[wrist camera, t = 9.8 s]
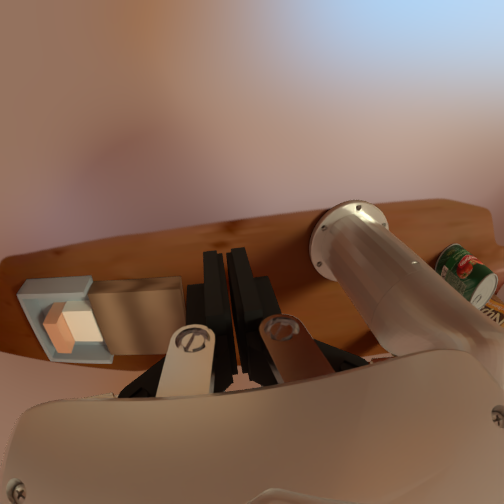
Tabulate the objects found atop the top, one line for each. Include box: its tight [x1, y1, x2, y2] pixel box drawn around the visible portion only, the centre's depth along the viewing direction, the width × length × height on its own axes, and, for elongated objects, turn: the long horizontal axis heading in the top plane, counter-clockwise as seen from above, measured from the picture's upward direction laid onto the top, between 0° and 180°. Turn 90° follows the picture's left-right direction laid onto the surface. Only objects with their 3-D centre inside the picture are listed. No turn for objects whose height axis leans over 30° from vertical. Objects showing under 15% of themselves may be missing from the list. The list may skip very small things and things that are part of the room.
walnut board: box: [87, 276, 186, 355], centre depth 40 cm, size 13×12×3 cm
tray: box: [16, 276, 114, 364], centre depth 38 cm, size 12×14×4 cm
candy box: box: [480, 294, 504, 328], centre depth 47 cm, size 9×4×15 cm, turn 123°
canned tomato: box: [435, 244, 498, 310], centre depth 43 cm, size 8×8×11 cm
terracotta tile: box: [43, 302, 75, 353], centre depth 37 cm, size 5×6×2 cm
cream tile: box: [62, 300, 104, 341], centre depth 38 cm, size 5×6×2 cm
